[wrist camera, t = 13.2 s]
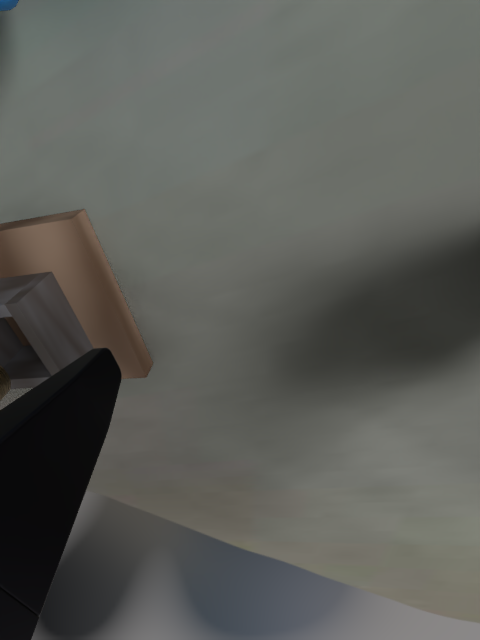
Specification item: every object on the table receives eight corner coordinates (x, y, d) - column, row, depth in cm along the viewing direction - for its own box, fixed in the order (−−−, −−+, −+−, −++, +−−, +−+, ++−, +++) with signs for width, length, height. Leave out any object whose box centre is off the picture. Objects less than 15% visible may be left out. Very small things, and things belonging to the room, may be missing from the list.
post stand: (84, 209, 22) (35, 246, 18) (153, 363, 29) (128, 415, 25) (-77, 237, 25) (-150, 275, 21) (20, 372, 32) (-22, 420, 28)
